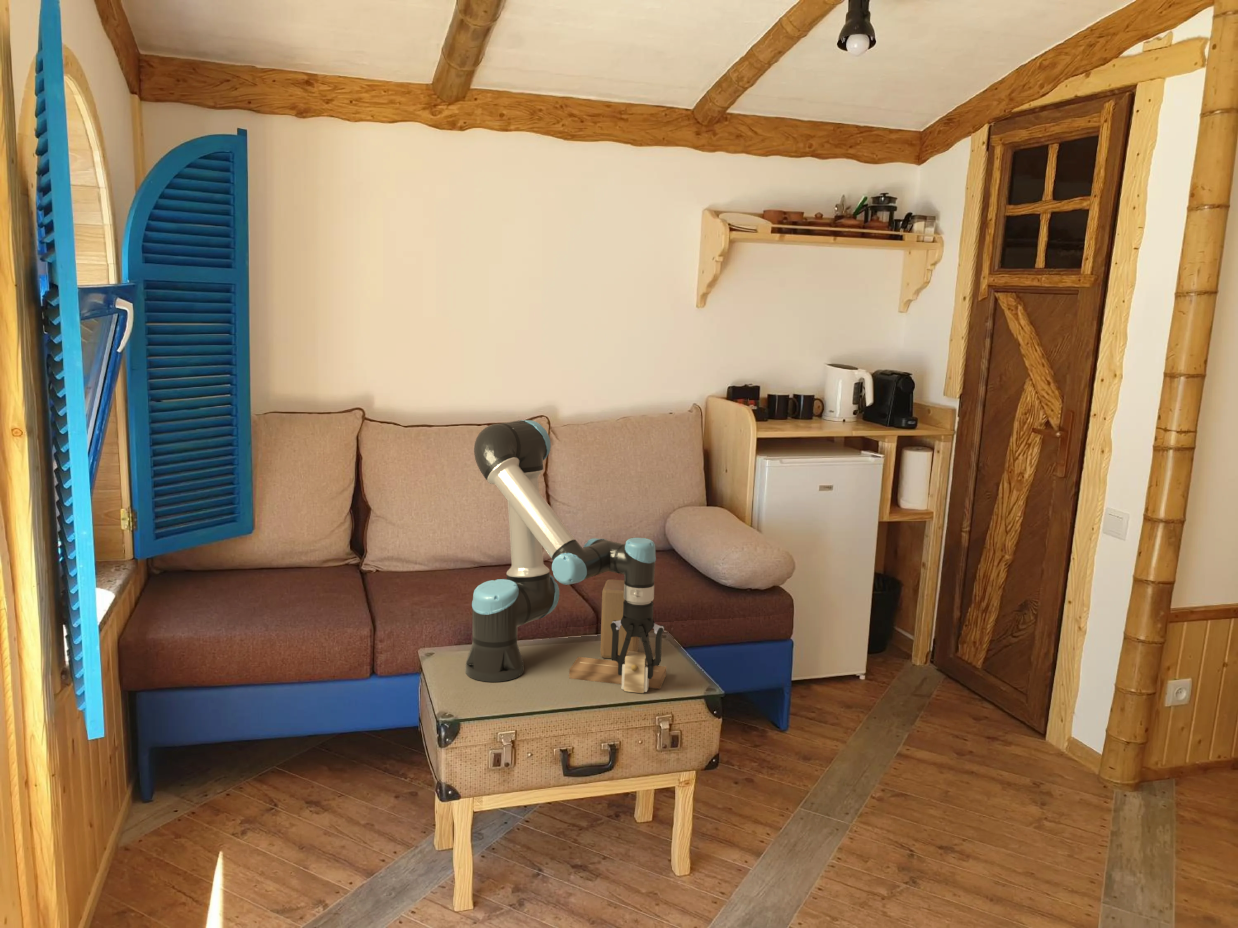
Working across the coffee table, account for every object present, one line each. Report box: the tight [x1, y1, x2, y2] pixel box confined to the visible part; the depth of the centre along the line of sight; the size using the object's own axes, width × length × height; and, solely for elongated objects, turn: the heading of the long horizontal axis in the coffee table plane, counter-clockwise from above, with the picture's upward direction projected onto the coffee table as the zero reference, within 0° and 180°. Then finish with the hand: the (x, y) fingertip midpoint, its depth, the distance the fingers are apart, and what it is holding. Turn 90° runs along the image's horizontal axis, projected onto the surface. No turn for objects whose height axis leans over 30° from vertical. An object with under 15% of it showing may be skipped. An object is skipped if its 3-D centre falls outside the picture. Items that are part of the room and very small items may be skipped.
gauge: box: [623, 651, 647, 694], centre depth 253 cm, size 5×14×9 cm, turn 168°
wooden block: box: [599, 579, 640, 659], centre depth 272 cm, size 10×10×20 cm
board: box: [568, 656, 667, 690], centre depth 257 cm, size 24×9×2 cm, turn 78°
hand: (634, 688), depth 249 cm, fingers closed on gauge, 5 cm apart
